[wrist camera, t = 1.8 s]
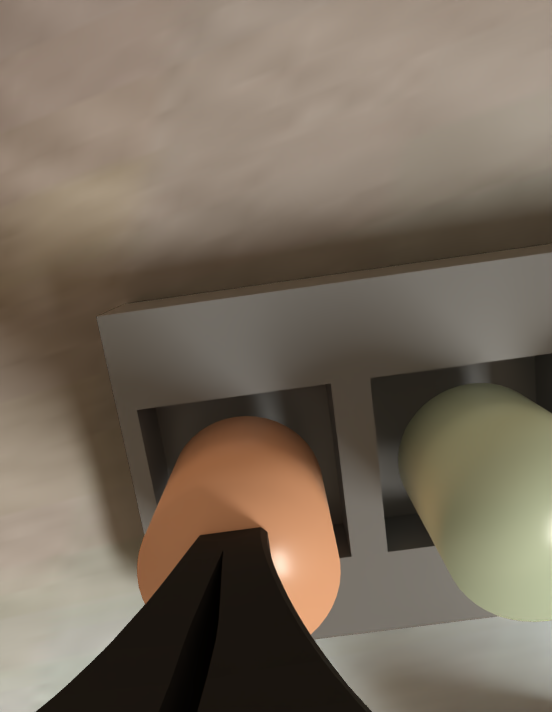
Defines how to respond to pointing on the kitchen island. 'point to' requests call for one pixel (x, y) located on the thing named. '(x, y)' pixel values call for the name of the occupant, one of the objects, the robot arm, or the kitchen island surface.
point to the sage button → (486, 494)
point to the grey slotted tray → (338, 396)
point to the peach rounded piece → (249, 509)
